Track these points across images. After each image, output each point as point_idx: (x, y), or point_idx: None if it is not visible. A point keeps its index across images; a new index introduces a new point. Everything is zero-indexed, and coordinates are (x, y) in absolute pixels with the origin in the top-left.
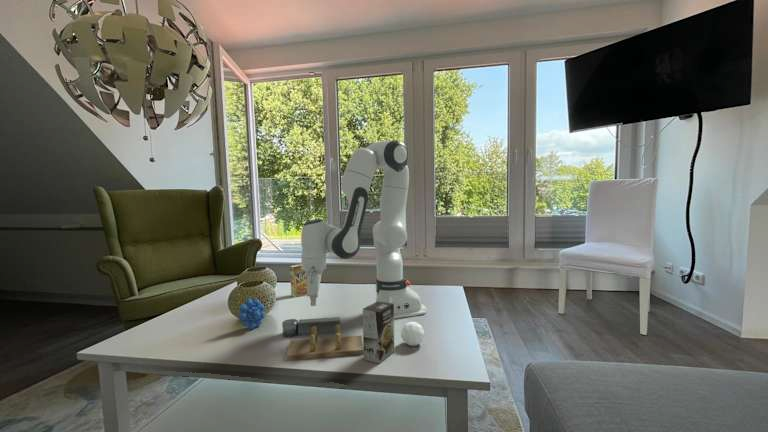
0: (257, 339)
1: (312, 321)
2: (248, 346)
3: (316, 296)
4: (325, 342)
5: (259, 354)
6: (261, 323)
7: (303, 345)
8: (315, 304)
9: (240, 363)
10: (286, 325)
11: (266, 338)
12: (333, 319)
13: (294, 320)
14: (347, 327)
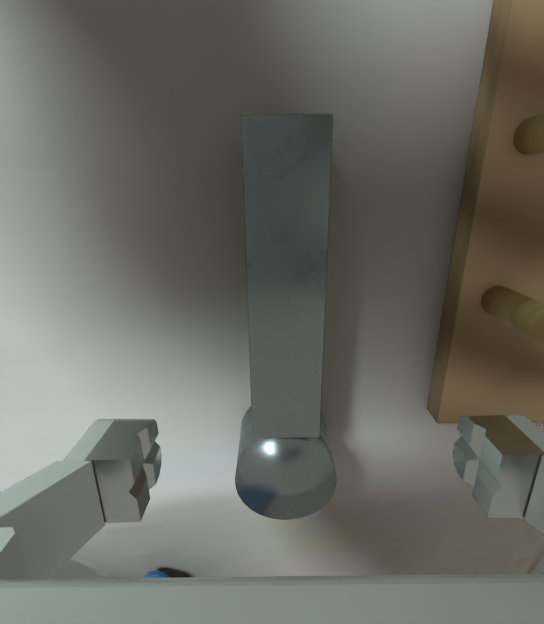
0: (320, 546)
1: (306, 349)
2: (385, 561)
3: (150, 436)
4: (539, 229)
5: (481, 513)
6: (159, 574)
7: (527, 355)
8: (526, 423)
9: (535, 555)
10: (331, 491)
11: (317, 518)
12: (295, 177)
13: (264, 462)
14: (232, 65)
